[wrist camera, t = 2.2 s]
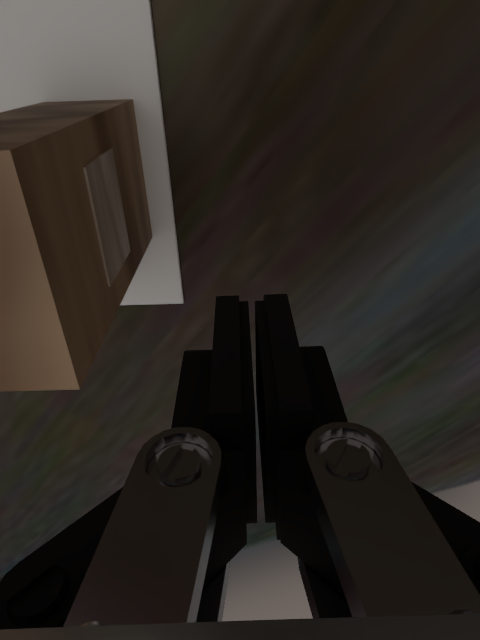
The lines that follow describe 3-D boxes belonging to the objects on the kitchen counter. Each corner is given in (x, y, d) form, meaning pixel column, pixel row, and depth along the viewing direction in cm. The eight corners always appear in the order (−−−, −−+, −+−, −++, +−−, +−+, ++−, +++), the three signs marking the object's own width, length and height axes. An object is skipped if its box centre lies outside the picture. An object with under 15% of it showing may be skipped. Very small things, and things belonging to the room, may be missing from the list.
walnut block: (134, 98, 24) (14, 150, 11) (154, 236, 28) (82, 389, 15) (43, 102, 24) (-182, 156, 11) (76, 239, 28) (-60, 392, 15)
